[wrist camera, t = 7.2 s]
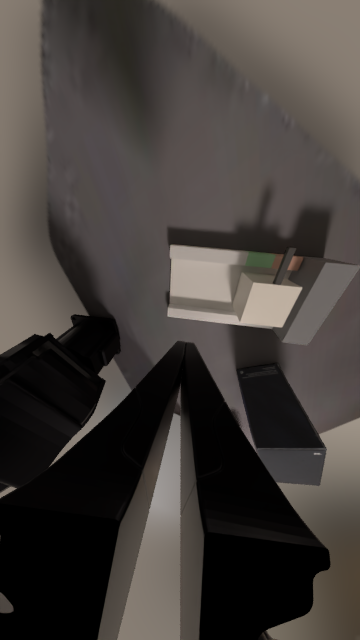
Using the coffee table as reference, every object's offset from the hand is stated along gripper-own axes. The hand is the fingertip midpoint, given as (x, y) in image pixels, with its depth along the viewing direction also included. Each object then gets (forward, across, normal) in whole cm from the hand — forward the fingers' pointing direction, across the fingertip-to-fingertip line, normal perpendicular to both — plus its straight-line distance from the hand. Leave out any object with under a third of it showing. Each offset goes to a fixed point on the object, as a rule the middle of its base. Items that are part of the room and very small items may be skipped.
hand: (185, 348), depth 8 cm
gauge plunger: (+11, -7, -1) cm, 13 cm away
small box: (+12, -13, +17) cm, 24 cm away
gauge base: (+12, -5, 0) cm, 13 cm away
